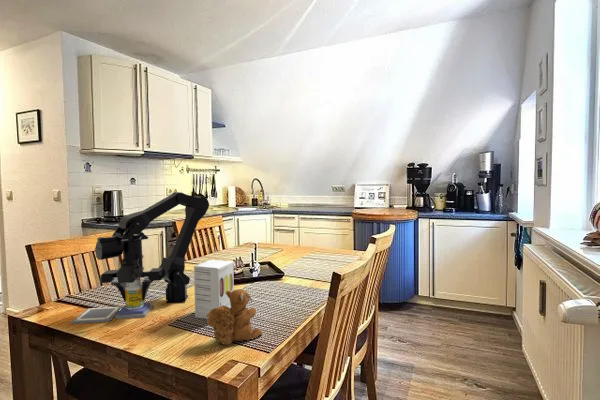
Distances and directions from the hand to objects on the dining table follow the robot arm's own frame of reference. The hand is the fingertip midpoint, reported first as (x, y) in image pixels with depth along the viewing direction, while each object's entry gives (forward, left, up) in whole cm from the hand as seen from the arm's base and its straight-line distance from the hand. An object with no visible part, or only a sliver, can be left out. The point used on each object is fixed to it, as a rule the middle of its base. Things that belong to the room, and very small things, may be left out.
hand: (134, 300), depth 117 cm
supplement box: (-26, +5, -4) cm, 27 cm away
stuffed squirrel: (-34, +23, -4) cm, 41 cm away
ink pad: (0, 0, -4) cm, 4 cm away
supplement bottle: (0, 0, -2) cm, 2 cm away
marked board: (+11, +1, -4) cm, 12 cm away
